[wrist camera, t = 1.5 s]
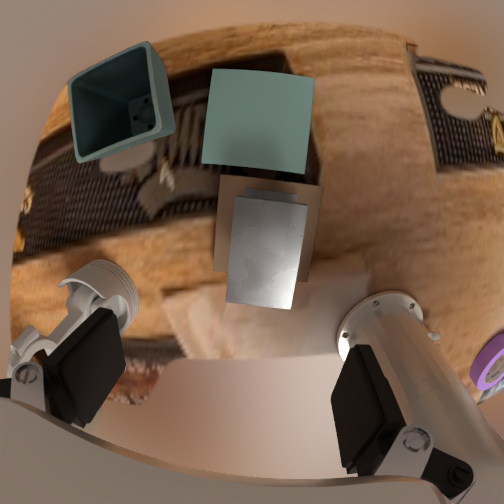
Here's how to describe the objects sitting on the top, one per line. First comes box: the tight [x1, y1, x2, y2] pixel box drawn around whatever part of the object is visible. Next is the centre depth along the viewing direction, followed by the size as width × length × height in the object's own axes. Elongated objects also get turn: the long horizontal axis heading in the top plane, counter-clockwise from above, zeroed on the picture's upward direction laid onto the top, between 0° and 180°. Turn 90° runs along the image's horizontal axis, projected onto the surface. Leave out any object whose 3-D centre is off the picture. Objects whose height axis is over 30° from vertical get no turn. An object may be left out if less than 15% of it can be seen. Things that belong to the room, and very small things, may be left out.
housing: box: [226, 187, 308, 309], centre depth 23 cm, size 8×5×8 cm, turn 174°
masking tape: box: [470, 333, 504, 390], centre depth 32 cm, size 12×12×4 cm
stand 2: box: [213, 174, 323, 282], centre depth 28 cm, size 10×10×2 cm
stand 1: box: [201, 69, 315, 174], centre depth 25 cm, size 10×10×2 cm
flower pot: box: [68, 41, 176, 163], centre depth 21 cm, size 9×9×9 cm
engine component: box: [7, 259, 140, 378], centre depth 24 cm, size 11×20×10 cm
